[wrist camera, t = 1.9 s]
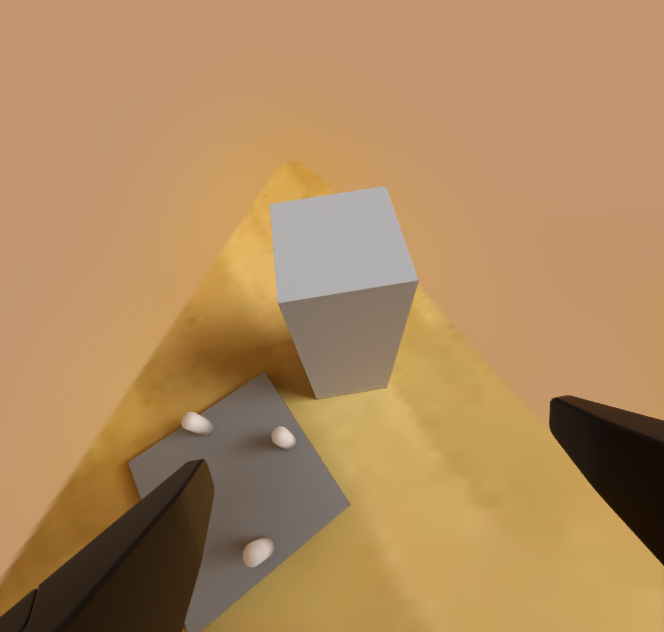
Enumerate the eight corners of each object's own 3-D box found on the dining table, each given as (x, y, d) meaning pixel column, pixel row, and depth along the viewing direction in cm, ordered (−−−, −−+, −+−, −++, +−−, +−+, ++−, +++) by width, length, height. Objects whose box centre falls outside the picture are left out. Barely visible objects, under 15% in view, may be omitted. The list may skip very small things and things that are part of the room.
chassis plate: (350, 504, 19) (349, 506, 16) (199, 632, 17) (164, 662, 14) (267, 375, 24) (254, 358, 21) (137, 463, 21) (100, 458, 18)
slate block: (387, 387, 23) (418, 280, 11) (316, 399, 23) (277, 303, 11) (371, 325, 25) (385, 185, 14) (308, 335, 25) (269, 204, 14)
